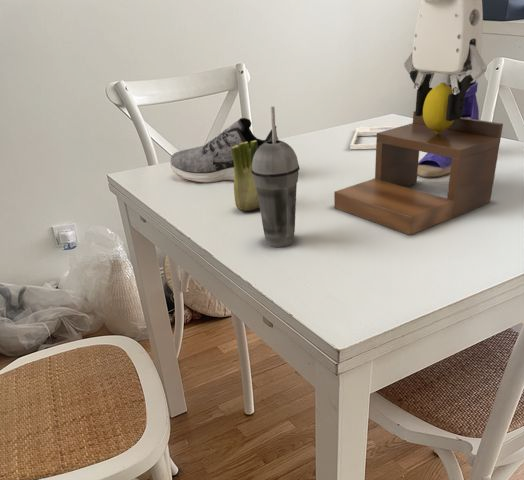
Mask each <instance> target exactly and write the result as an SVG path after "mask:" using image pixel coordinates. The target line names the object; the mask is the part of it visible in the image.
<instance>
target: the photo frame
mask: <svg viewBox="0 0 524 480" xmlns="http://www.w3.org/2000/svg"><path fill="white" fill-rule="evenodd" d="M401 126H402V125H392V126H391V125H389V126H388V125H387V126H385V125H384V126H357V127H356V130H355V132H354V135H353V137H352V139H351V141H350V144H349V149H350V150H376V143H358V144H357V143H356V142H357V139H358V137H367V136H368V137H369V136H371V137H372V136H377V133H379V132H383V131H386V130H390V129H394V128H397V127H401Z"/></svg>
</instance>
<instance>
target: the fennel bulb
mask: <svg viewBox="0 0 524 480" xmlns="http://www.w3.org/2000/svg"><path fill="white" fill-rule="evenodd" d="M231 150H232V156H233V162H234V172H235V175H234V181H233V195H234V204H235V207H236V208H237V209H238V210H239V211H242V212H249V211H253V210H257V209H260V206H259V200H258V194H257V188H256V186H255V182H254V179H253V174H252V173H251V170H252V162H253V157H254V154H255V152H256V151H257V141H256V140H255V141H251V142H250V150H249V144H248V142H244V143H240V144H239V146H238V145H236V146H233V147H232V148H231Z"/></svg>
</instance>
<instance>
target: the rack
mask: <svg viewBox="0 0 524 480" xmlns="http://www.w3.org/2000/svg"><path fill="white" fill-rule="evenodd" d="M415 111H416V110H414V111H413V113H412V123H411V122H410V123H408V124H405V125H400V126H401V127H397V128H394V129H390V130H386V131H383V132H379V133H377V135H376V139H375V140H376V142H375V144H376V149H375V165H374V166H375V169H374V178H372V179H369V180H366V181H363V182H360V183H356V184H353V185H351V186H347V187H344V188H341V189H338V190H336V191H334V192H333V194H334V199H333V201H334V203H333V205H334V206H333V207H334V209H337V210H339V211H341V212H345V213H348V214H350V215H353V216H356V217H358V218H361V219H364V220H366V221H370V222H373V223H375V224H378V225H380V226H383V227H387V228H388V229H392V230H395V231H397V232H400V233H403V234H406V235H408V236H413V235H415V234H417V233H420V232H423V231H424V230H426V229H430V228H431V227H434V226H437V225H440V224H441V223H444V222H446V221H448V220H451V219H454V218H456V217H458V216H461V215H463V214H466V213H468V212H470V211H473V210H476V209H478V208H481V207H483V206H486V205H488V204H490V203H491V198H492V193H493V188H494V181H495V176H496V169H497V164H498V163H497V162H498V158H499V151H500V146H501V145H500V144H501V138H502V133H503V126H504V123H501V122H494V121H487V120H482V119H481V120H480V119H479V120H475V119H468V118H460V119H456V120H454V122H453V123H452V125H451V126H449V127H448V128H447V129H445V130H443V131H442V132H441V133H440V134H435V132H434V131H433V130H431V129H429V128H428V127H427V126H426V124H425V122H424V119H423V115H422V116H416V115H415ZM420 152H422V153H426V154H427V153H431V154H436V155H440V156H445V157H449V158H452V162H451V170H450V174H449V179H448V188H447V195H446V196H447V197H442V196H439V195H435V194H432V193H429V192H426V191H425V192H424V191H421V190H417V189H414V188H410V187H409V186H412V185H414V184H417V183H418V182H417V181H418V174H417V172H418V162H419V161H420V159H419V158H420Z"/></svg>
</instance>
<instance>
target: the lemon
mask: <svg viewBox="0 0 524 480" xmlns="http://www.w3.org/2000/svg"><path fill="white" fill-rule="evenodd" d="M449 94H452V88H451V87H450V86H448V85H447V83H446V82H440V83H439V84H438V85H436V86H434V87H432V90H431V91H430V92H429V93H428V95H427V97H426V99H425V102H424V106H423V119H424V122H425V124H426V126H427V127H428V128H429V129H431V130H433V131H434V132H435V134H440V133H441V132H442V131H443V130H445V129H447V128H448V127H449V126H451V125H452V123H453V122H454V120H453V121H447V120H446V113H447V104H448V96H449Z"/></svg>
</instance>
